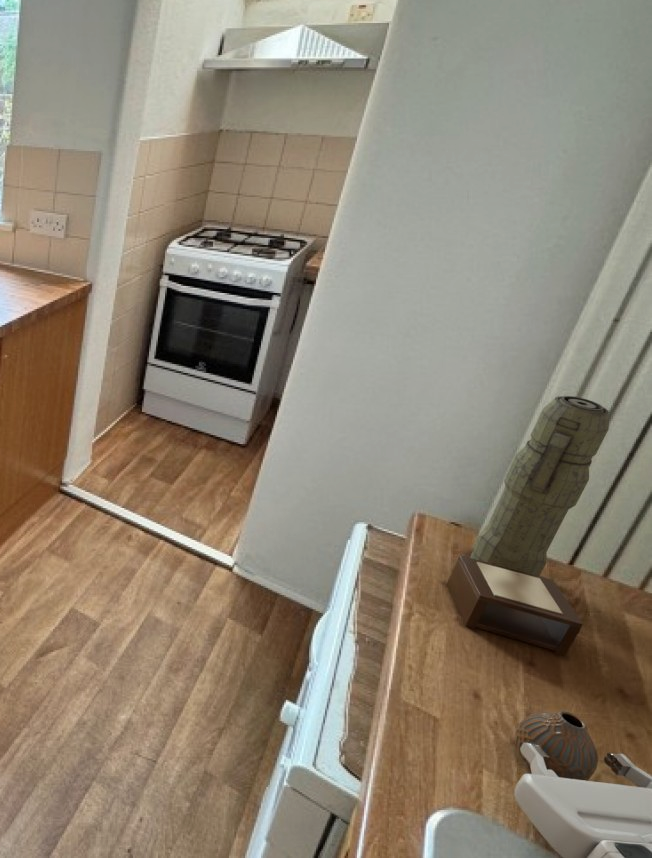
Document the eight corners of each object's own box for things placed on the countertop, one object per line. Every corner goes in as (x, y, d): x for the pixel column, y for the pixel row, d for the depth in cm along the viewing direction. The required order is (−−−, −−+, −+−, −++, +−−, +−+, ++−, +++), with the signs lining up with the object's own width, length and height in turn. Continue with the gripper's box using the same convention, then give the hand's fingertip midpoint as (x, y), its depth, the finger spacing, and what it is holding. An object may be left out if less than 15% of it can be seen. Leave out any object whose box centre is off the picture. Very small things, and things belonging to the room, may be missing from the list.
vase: (509, 728, 82) (535, 683, 79) (582, 768, 77) (613, 721, 74) (504, 763, 77) (532, 717, 74) (582, 808, 73) (614, 760, 69)
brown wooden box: (535, 611, 101) (553, 578, 98) (563, 658, 92) (584, 623, 90) (445, 585, 106) (460, 553, 103) (464, 628, 97) (480, 594, 95)
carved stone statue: (461, 573, 108) (539, 403, 96) (473, 544, 116) (547, 382, 103) (529, 603, 102) (622, 426, 89) (537, 570, 109) (624, 402, 97)
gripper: (827, 886, 59) (676, 744, 72) (597, 855, 61) (490, 723, 74) (791, 921, 61) (651, 778, 74) (571, 891, 64) (472, 757, 76)
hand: (569, 751), depth 74 cm, fingers open, 8 cm apart
